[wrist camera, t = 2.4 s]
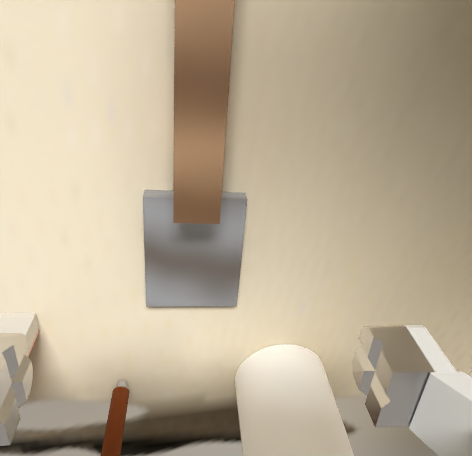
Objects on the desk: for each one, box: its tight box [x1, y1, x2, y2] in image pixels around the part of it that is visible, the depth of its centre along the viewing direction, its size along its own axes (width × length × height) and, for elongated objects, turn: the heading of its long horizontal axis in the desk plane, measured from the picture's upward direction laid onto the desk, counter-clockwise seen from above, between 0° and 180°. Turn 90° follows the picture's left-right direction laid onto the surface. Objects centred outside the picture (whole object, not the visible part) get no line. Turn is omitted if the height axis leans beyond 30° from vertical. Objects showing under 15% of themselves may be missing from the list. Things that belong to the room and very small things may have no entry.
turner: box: [143, 0, 247, 307], centre depth 23 cm, size 22×6×4 cm, turn 176°
